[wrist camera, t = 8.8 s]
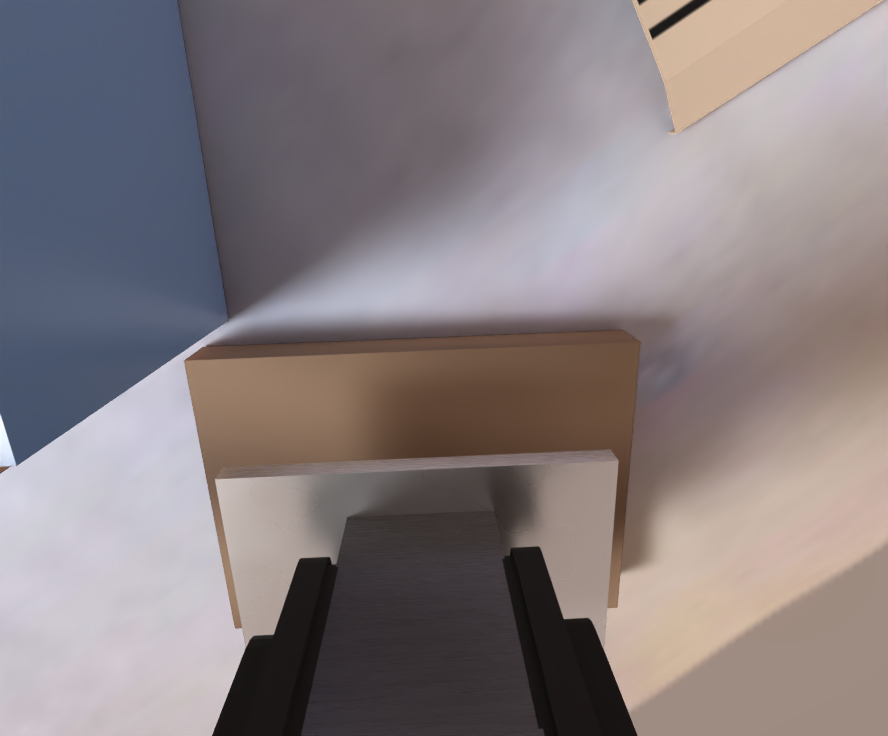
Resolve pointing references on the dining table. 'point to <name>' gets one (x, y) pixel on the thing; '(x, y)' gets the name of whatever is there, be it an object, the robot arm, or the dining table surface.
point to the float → (421, 578)
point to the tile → (96, 211)
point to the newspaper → (731, 44)
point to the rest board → (416, 405)
